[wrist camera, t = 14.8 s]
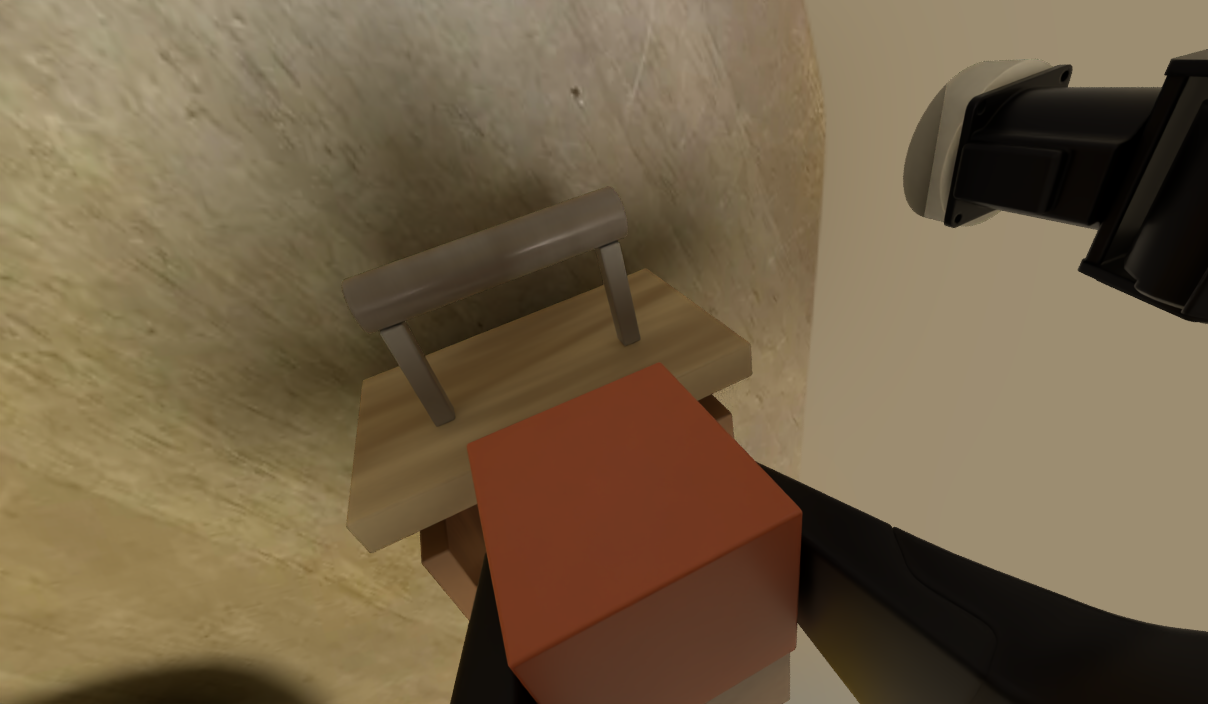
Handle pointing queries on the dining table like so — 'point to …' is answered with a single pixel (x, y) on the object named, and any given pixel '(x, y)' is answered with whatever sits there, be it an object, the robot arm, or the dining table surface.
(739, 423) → the dining table surface
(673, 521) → the block
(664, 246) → the dining table surface
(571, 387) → the drawer
